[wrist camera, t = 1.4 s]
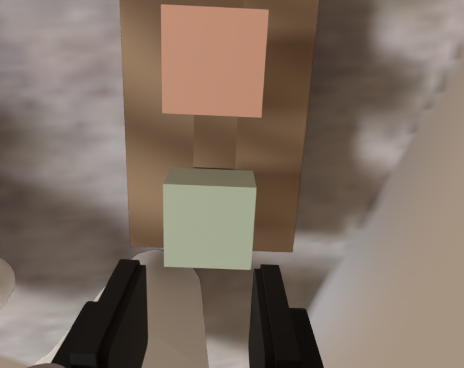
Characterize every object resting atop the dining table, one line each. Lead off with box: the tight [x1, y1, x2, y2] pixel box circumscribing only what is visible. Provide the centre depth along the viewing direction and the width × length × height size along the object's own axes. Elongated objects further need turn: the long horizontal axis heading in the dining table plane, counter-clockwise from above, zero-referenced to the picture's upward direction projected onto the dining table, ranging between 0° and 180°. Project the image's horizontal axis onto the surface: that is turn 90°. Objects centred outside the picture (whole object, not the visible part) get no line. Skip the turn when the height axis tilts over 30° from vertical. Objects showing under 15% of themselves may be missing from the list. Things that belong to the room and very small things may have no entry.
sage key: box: [163, 167, 256, 270], centre depth 20 cm, size 4×4×7 cm
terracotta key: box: [161, 4, 269, 118], centre depth 18 cm, size 4×4×7 cm
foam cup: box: [35, 250, 209, 368], centre depth 23 cm, size 10×9×13 cm
